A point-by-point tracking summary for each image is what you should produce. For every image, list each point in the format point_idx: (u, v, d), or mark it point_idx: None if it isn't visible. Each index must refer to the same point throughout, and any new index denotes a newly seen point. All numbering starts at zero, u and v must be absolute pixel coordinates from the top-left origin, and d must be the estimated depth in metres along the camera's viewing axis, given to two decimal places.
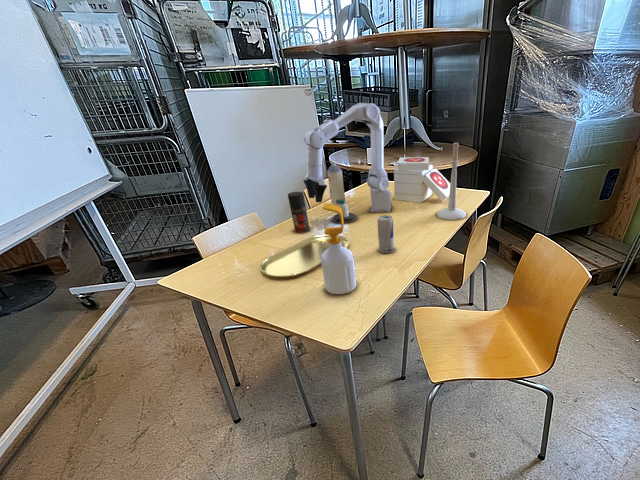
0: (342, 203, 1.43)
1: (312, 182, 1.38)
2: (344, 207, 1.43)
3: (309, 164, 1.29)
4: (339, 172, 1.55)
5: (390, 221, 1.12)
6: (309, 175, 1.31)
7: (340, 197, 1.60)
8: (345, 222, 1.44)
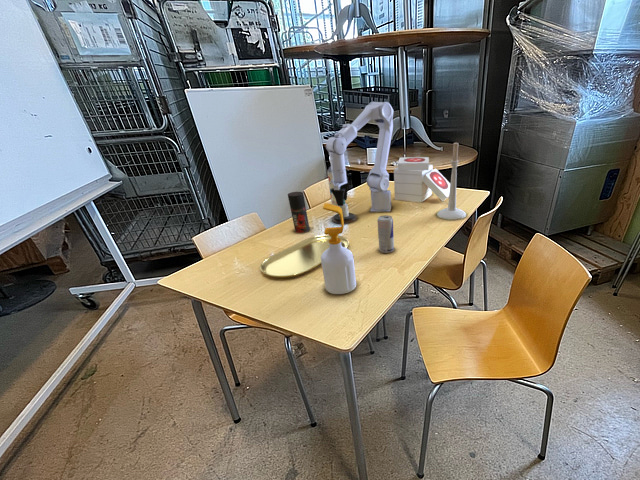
0: None
1: (343, 185, 1.44)
2: (344, 207, 1.43)
3: (334, 170, 1.35)
4: None
5: (390, 221, 1.12)
6: (332, 180, 1.38)
7: None
8: (345, 222, 1.44)
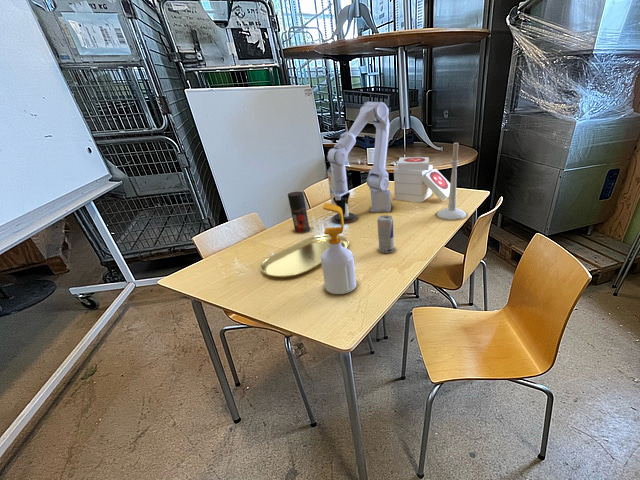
0: None
1: (343, 196, 1.45)
2: None
3: (335, 180, 1.37)
4: None
5: (390, 221, 1.12)
6: (334, 189, 1.40)
7: None
8: (345, 222, 1.44)
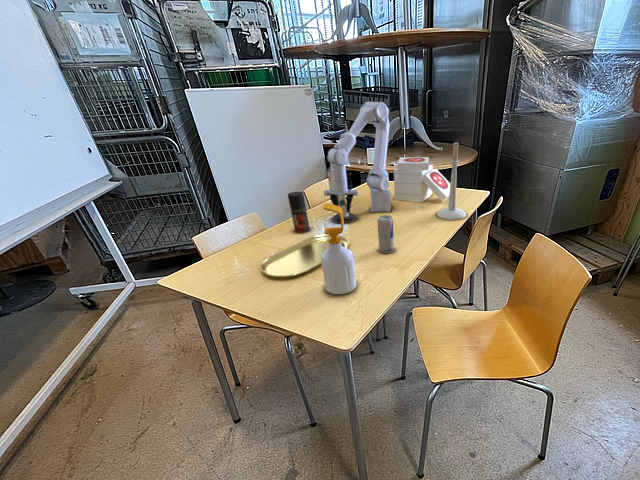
0: None
1: (337, 197, 1.44)
2: None
3: (335, 181, 1.37)
4: None
5: (390, 221, 1.12)
6: (341, 191, 1.39)
7: (340, 197, 1.60)
8: (345, 222, 1.44)
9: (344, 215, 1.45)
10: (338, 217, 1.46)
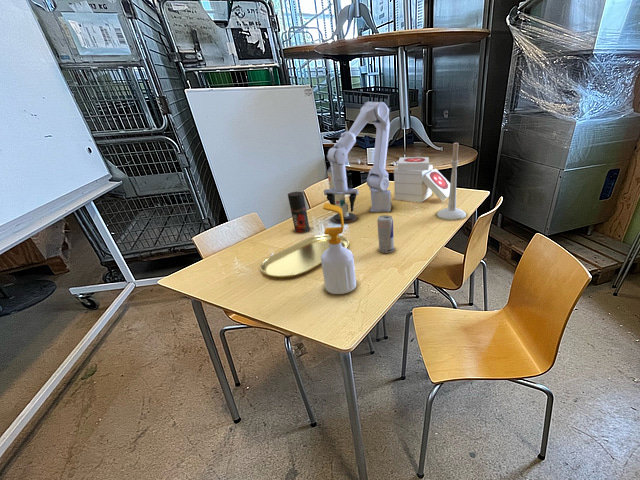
0: None
1: (333, 196, 1.43)
2: None
3: (335, 180, 1.37)
4: None
5: (390, 221, 1.12)
6: (341, 190, 1.39)
7: (340, 197, 1.60)
8: (345, 222, 1.44)
9: (344, 215, 1.45)
10: (338, 217, 1.46)
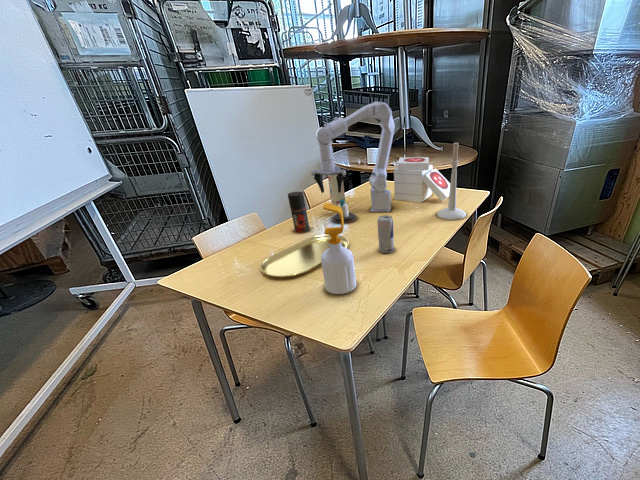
0: None
1: (321, 177, 1.45)
2: None
3: (320, 159, 1.39)
4: None
5: (390, 221, 1.12)
6: (329, 170, 1.40)
7: (340, 197, 1.60)
8: (345, 222, 1.44)
9: (344, 215, 1.45)
10: (338, 217, 1.46)
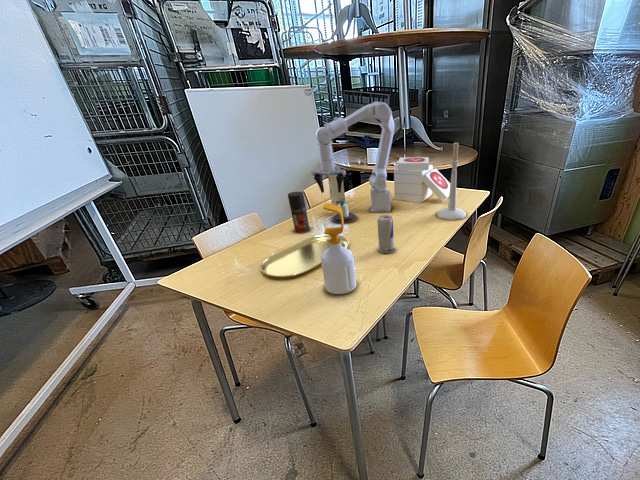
0: None
1: (321, 177, 1.45)
2: None
3: (320, 159, 1.39)
4: None
5: (390, 221, 1.12)
6: (329, 170, 1.40)
7: (340, 197, 1.60)
8: (345, 222, 1.44)
9: (344, 215, 1.45)
10: (338, 217, 1.46)
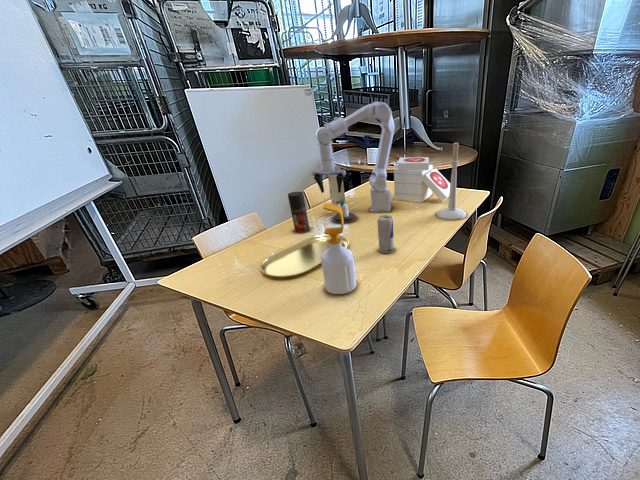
0: None
1: (321, 177, 1.45)
2: None
3: (320, 159, 1.39)
4: None
5: (390, 221, 1.12)
6: (329, 170, 1.40)
7: (340, 197, 1.60)
8: (345, 222, 1.44)
9: (344, 215, 1.45)
10: (338, 217, 1.46)
